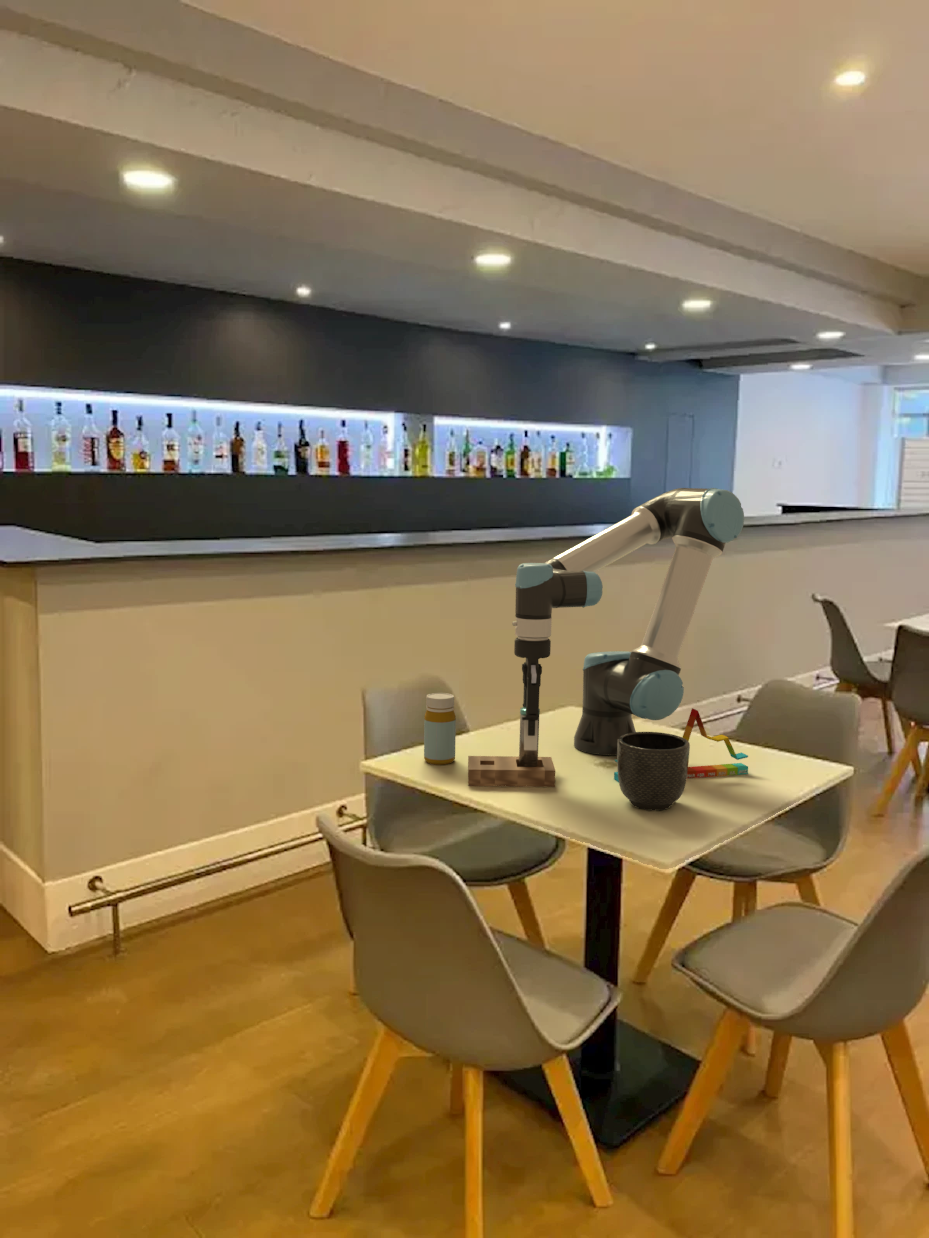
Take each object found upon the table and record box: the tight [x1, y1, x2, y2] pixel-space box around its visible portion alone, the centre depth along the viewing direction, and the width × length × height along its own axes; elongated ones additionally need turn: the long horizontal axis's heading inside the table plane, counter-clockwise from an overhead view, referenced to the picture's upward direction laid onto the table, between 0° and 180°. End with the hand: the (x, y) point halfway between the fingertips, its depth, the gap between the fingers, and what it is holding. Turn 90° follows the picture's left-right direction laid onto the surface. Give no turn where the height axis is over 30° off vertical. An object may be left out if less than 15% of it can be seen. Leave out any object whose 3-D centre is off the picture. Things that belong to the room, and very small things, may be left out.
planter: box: [616, 731, 691, 811], centre depth 192 cm, size 14×14×13 cm
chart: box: [613, 708, 749, 784], centre depth 210 cm, size 30×3×15 cm, turn 105°
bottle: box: [423, 692, 457, 766], centre depth 219 cm, size 7×7×15 cm
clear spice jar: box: [518, 706, 541, 767], centre depth 206 cm, size 4×4×12 cm
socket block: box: [467, 755, 556, 788], centre depth 207 cm, size 18×10×4 cm, turn 90°
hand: (529, 746), depth 206 cm, fingers closed on clear spice jar, 4 cm apart
